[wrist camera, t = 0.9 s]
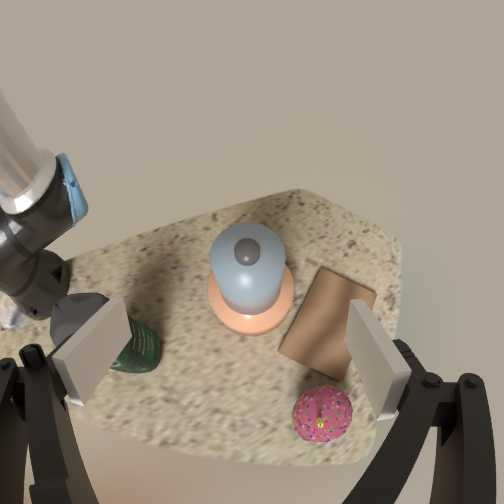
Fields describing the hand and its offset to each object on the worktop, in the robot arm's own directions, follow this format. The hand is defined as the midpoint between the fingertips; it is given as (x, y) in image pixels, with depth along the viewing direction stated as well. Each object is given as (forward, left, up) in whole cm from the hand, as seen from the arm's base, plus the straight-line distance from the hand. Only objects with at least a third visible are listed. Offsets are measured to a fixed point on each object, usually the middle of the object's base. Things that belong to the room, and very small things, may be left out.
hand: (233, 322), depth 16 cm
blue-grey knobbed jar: (-6, +11, -24) cm, 27 cm away
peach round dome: (-6, +11, -29) cm, 32 cm away
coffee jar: (-18, -7, -30) cm, 35 cm away
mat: (+8, +13, -29) cm, 33 cm away
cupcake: (+12, -1, -30) cm, 32 cm away
